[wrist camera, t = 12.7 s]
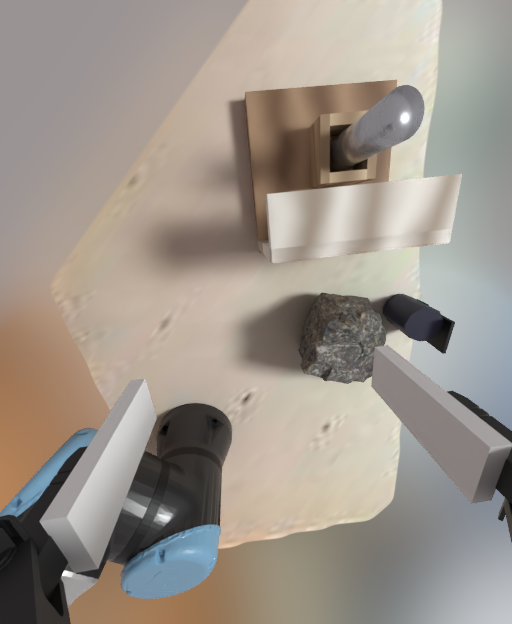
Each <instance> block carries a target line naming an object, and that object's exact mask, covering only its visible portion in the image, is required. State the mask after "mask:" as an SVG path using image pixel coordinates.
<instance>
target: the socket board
mask: <svg viewBox="0 0 512 624" xmlns="http://www.w3.org/2000/svg"><path fill="white" fill-rule="evenodd" d="M396 87H397V80H389V81H376V82H364V83H352V84H339V85H327V86H314V87H302V88H289V89H277V90H265V91H252V92H245V109H246V119H247V130H248V141H249V151H250V162H251V172H252V183H253V194H254V204H255V215H256V226H257V236H258V247H259V252H260V253H261V252H262V253H263V255H264V256H265V257H266V258H267V259H268V260H269V261H270V262H271V263H272V264H273V263H282V262H290V261H299V260H307V259H316V258H324V257H333V256H342V255H350V254H359V253H367V252H376V251H384V250H393V249H401V248H410V247H419V246H427V245H434V244H435V245H436V244H444V243H449V242H450V238H451V232H452V227H453V222H454V216H455V210H456V204H457V200H458V194H459V189H460V183H461V178H462V174H460V175H449V176H439V177H429V178H419V179H410V180H400V181H390V182H388V179H389V168H390V156H391V147H390V148H388V149H386V150H384V151H382V152H380V153H378V154H376V155H374V156H372V157H370V158H367V159H365V160H363V161H361V162H359V163H357V164H355V165H353V166H351V167H349V168H347V169H345V170H343V171H341V172H330V142H331V141H332V140H334V139H335V138H336V137H337V136H338V135H340V134H341V133H342V132H343V131H344V130H346V129H347V128H348V127H349V126H350V125H352V124H353V123H354V122H355V121H356V120H358V119H359V118H360V117H361V116H362V115H364V114H365V113H366V112H367V111H368V110H370V109H371V108H372V107H373V106H374V105H376V104H377V103H378V102H379V101H380V100H382V99H383V98H384V97H385V96H386V95H388V94H389V93H390V92H391V91H392V90H394V89H395V88H396Z"/></svg>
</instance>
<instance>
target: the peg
mask: <svg viewBox="0 0 512 624" xmlns="http://www.w3.org/2000/svg"><path fill="white" fill-rule="evenodd" d="M423 115H424V101H423V98H422V95H421V94H420V92H419V91H418V90H417V89H416V88H414V87H412V86H409V85H403V86H399V87H397V88H395V89H394V90H392V91H391V92H390V93H389V94H388V95H386V96H385V97H384V98H383V99H382V100H380V101H379V102H378V103H377V104H376V105H374V106H373V107H372V108H371V109H370V110H368V111H367V112H366V113H365V114H364V115H362V116H361V117H360V118H359V119H358V120H356V121H355V122H354V123H353V124H352V125H350V126H349V127H348V128H347V129H346V130H344V131H343V132H342V133H341V134H340V135H338V136H337V137H336V138H335V139H334V140H332V141H331V142H330V172H341V171H343V170H345V169H347V168H349V167H351V166H353V165H355V164H357V163H359V162H361V161H363V160H365V159H367V158H370V157H372V156H374V155H376V154H378V153H380V152H382V151H384V150H386V149H388V148H390V147H392V146H394V145H397V144H399V143H401V142H403V141H405V140H407V139H409V138H410V137H411V136H413V135H414V134H415V132H416V131H417V130H418V128H419V127H420V124H421V122H422V119H423Z"/></svg>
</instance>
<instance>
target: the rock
mask: <svg viewBox="0 0 512 624" xmlns="http://www.w3.org/2000/svg"><path fill="white" fill-rule="evenodd" d="M381 323H382V319H381V316H380V314H379V313H377V312H375V311H373V309H372V306H371V305H370V301H369V299H368V298H363V297H357V296H341V295H335V294H327V293H321V294H320V296H319V297H318V298H317V299H316V301H315V303H314V304H313V307H312V311H311V313H310V314H309V316H308V317H307V319H306V322H305V326H304V329H303V336H302V344H301V346H300V349H299V350H298V351H299V353H300V355H301V357H302V362H301V367H302V370H303V371H304V373H305V374H308V375H314V376H318V377H321V378H323V380H324V381H327V380H329V381H336V382H342V383H346V384H348V383H351V382H352V381H358V382H359V381H360V382H364V381H365V380H366V379H367V378H369V377H371V376H372V374H373V362H374V351H375V347H379V346H384V344H385V341H386V327H385V326H383V325H381Z"/></svg>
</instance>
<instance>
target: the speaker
mask: <svg viewBox="0 0 512 624" xmlns="http://www.w3.org/2000/svg"><path fill="white" fill-rule="evenodd" d="M383 313H384V315H385V317H386V319H387V320H388V321H389V322H391V323H392V324H393V325H394V326H396V327H397V328H398V329H399V330H400V331H402V332H403V333H404V334H405V335H407V336H408V337H409V338H411V339H414V340H417V341H427V342H428V343H430V344H431V345H432V346H434V347H435V348H436V349H438V350H439V351H440V352H442V353H446V349H447V346H448V343H449V340H450V337H451V333H452V330H453V327H454V324H455V322H454V321H452V320H450V319H448V318H446V317H444V316H442V315H441V314H440V312H439V311H437V310H435V309H433V308H432V307H430V306H429V305H428V304H426V303H424V302H422V301H420V300H418V299H417V300H416V299H414V298H412V297H410V296H407V295H404V294H398V295H395V296H394V297H392V298H390V299H388V301H387V302H386V304H385V306H384V308H383Z"/></svg>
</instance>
